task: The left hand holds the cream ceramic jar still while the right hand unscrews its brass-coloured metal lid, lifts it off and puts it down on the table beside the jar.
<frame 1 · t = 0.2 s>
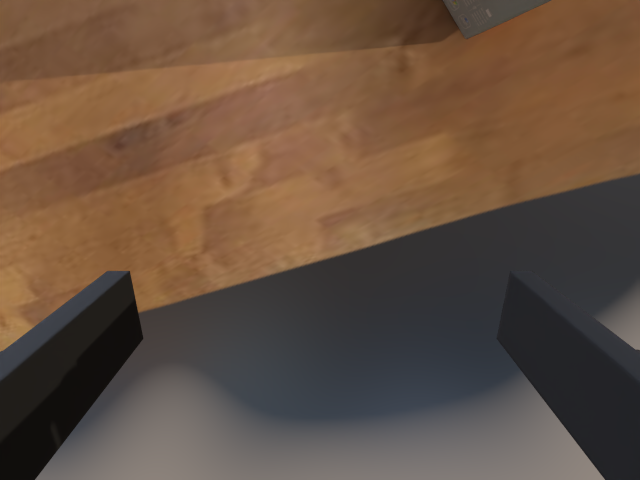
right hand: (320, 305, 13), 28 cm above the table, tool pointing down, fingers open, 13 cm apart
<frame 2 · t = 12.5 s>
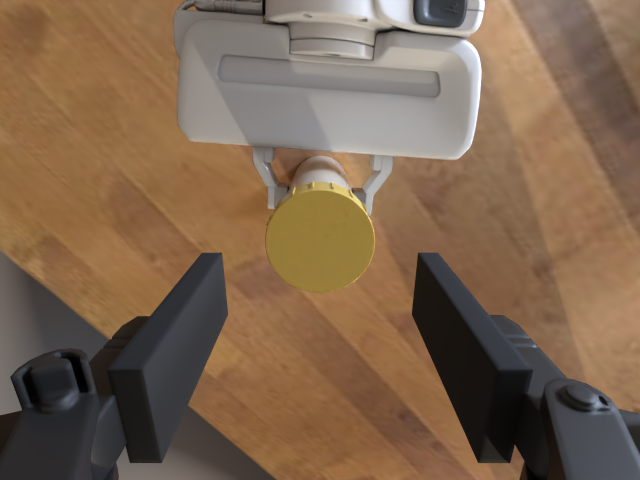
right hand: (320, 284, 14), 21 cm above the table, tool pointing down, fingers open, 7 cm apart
left hand: (319, 210, 28), fingers closed on jar, 5 cm apart
jar: (319, 182, 34), on the table, touching left hand
lid: (320, 241, 19), point 16 cm above the table, screwed on, not yet turned
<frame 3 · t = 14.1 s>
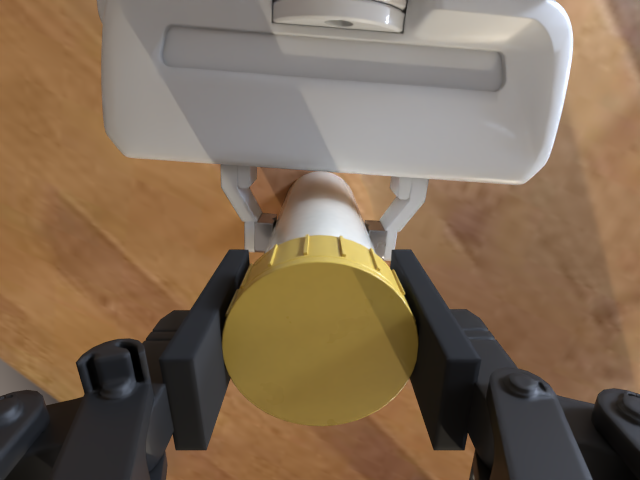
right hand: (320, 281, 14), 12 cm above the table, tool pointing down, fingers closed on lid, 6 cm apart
left hand: (319, 252, 20), fingers closed on jar, 5 cm apart
jar: (320, 206, 26), on the table, touching left hand
lid: (320, 344, 11), point 16 cm above the table, screwed on, not yet turned, touching right hand
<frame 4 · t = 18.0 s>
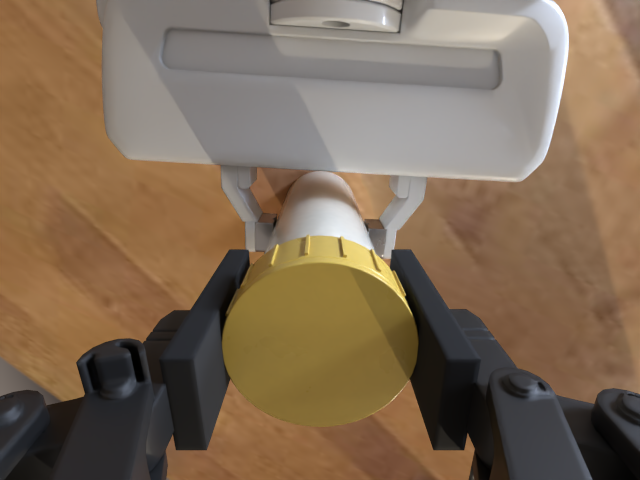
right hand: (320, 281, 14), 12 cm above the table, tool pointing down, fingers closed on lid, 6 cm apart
left hand: (319, 251, 20), fingers closed on jar, 5 cm apart
jar: (320, 205, 26), on the table, touching left hand
lid: (320, 344, 11), point 16 cm above the table, turned 126° so far, risen 0.2 cm, still on its thread, touching right hand
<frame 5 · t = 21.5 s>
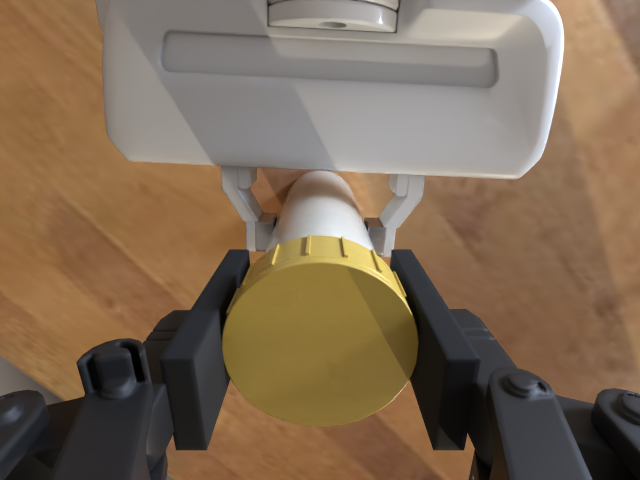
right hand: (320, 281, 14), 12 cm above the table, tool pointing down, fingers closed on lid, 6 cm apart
left hand: (320, 250, 20), fingers closed on jar, 5 cm apart
jar: (320, 205, 26), on the table, touching left hand
lid: (320, 344, 11), point 16 cm above the table, turned 252° so far, risen 0.3 cm, still on its thread, touching right hand
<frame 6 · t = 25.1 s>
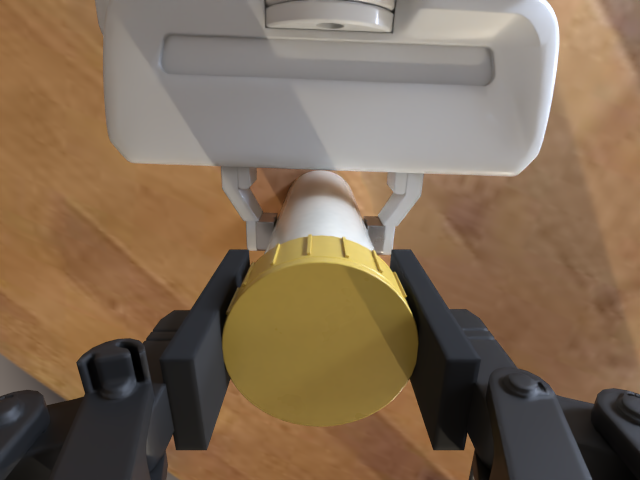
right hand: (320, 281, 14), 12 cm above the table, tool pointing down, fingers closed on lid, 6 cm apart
left hand: (320, 249, 20), fingers closed on jar, 5 cm apart
jar: (320, 204, 26), on the table, touching left hand
lid: (320, 344, 11), point 16 cm above the table, turned 378° so far, risen 0.5 cm, still on its thread, touching right hand
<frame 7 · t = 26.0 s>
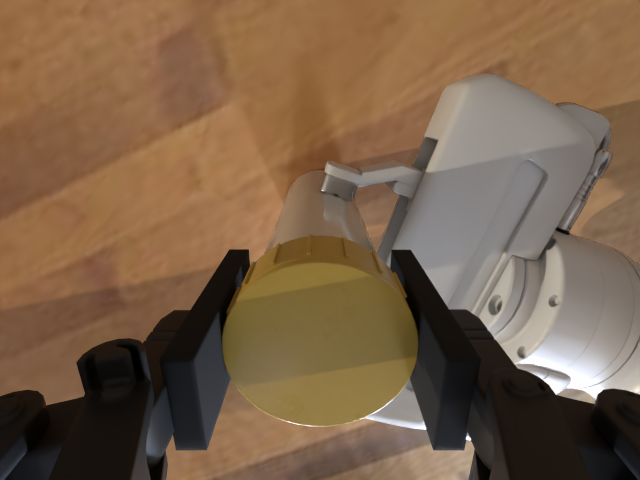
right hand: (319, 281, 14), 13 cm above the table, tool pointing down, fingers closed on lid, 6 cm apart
jar: (320, 203, 26), on the table, touching left hand
lid: (320, 344, 11), point 17 cm above the table, off its thread, touching right hand
when the right hand's fingers open (0 cm above the table, at t = 31.9 s): lid drops 2 cm, point 2 cm above the table.
when the left hand's fingers open (7 cm above the table, at t = 33.1 s): jar stays where it is, on the table.
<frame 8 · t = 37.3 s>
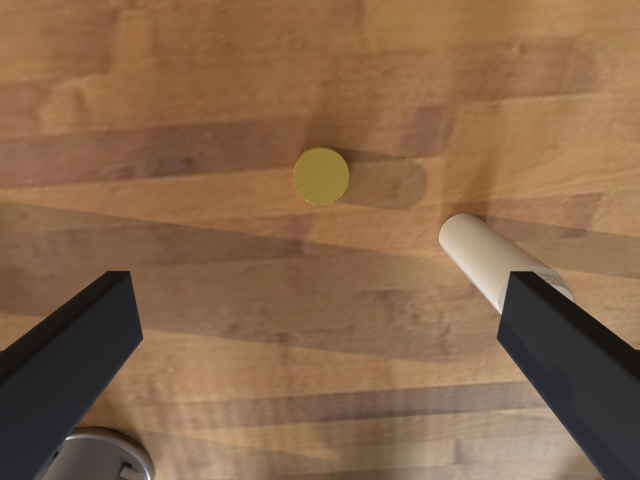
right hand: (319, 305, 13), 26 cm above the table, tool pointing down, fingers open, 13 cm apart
jar: (461, 234, 40), on the table
lid: (321, 176, 36), point 2 cm above the table, off its thread
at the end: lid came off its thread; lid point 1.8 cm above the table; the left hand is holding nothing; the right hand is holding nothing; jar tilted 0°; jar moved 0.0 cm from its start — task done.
